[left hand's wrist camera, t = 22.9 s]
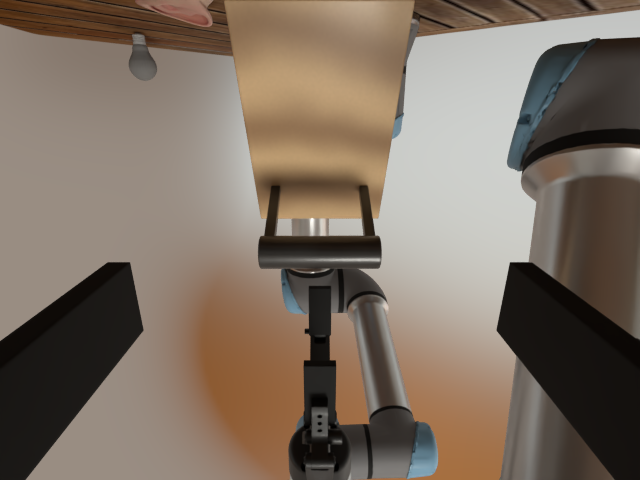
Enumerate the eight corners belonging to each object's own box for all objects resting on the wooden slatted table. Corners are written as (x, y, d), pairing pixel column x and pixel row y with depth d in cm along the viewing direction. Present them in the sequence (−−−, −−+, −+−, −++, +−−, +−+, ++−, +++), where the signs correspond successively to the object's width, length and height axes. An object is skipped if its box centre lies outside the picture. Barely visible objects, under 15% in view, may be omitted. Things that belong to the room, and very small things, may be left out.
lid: (377, 211, 31) (390, 293, 26) (262, 211, 31) (249, 293, 25) (412, -6, 19) (451, 58, 14) (226, -6, 19) (188, 59, 14)
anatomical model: (126, 2, 44) (224, 9, 47) (120, -38, 42) (221, -27, 46) (138, 24, 55) (216, 29, 59) (134, -7, 54) (213, 0, 58)
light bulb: (146, 30, 80) (153, 79, 84) (155, 35, 86) (162, 81, 89) (118, 30, 80) (126, 79, 84) (130, 35, 86) (137, 81, 89)
